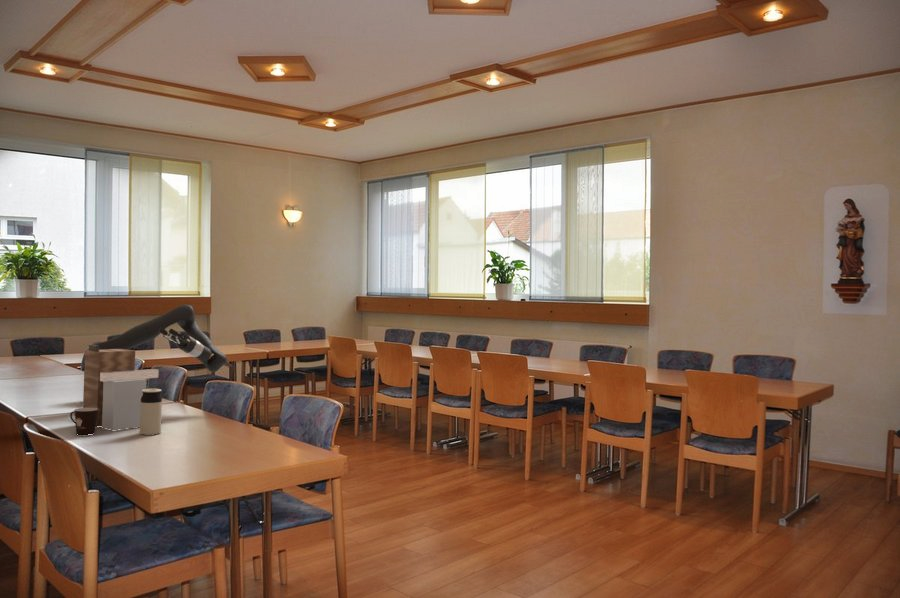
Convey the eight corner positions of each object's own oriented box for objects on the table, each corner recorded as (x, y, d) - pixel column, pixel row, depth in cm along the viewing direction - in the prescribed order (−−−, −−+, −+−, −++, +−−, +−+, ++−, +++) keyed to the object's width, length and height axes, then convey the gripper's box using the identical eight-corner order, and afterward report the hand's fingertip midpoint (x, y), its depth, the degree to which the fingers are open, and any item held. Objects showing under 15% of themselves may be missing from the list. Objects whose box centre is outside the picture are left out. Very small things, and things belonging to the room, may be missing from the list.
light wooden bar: (104, 381, 284) (104, 373, 284) (99, 380, 286) (100, 372, 286) (158, 377, 303) (158, 369, 303) (153, 376, 305) (154, 369, 305)
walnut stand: (96, 427, 290) (99, 346, 290) (82, 423, 297) (85, 344, 297) (132, 423, 303) (135, 345, 303) (118, 419, 310) (121, 343, 310)
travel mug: (152, 436, 278) (154, 391, 278) (135, 434, 280) (136, 390, 280) (164, 432, 286) (166, 389, 286) (147, 431, 287) (149, 388, 287)
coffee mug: (100, 434, 277) (101, 409, 277) (77, 437, 271) (78, 411, 271) (90, 430, 285) (91, 406, 285) (67, 432, 279) (68, 408, 279)
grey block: (112, 431, 284) (114, 381, 284) (101, 428, 290) (103, 379, 290) (144, 426, 296) (146, 379, 296) (133, 424, 301) (135, 377, 301)
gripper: (186, 338, 333) (159, 322, 322) (203, 340, 325) (177, 323, 313) (178, 352, 330) (151, 336, 319) (196, 354, 322) (169, 337, 310)
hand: (164, 329), depth 316 cm, fingers open, 8 cm apart
